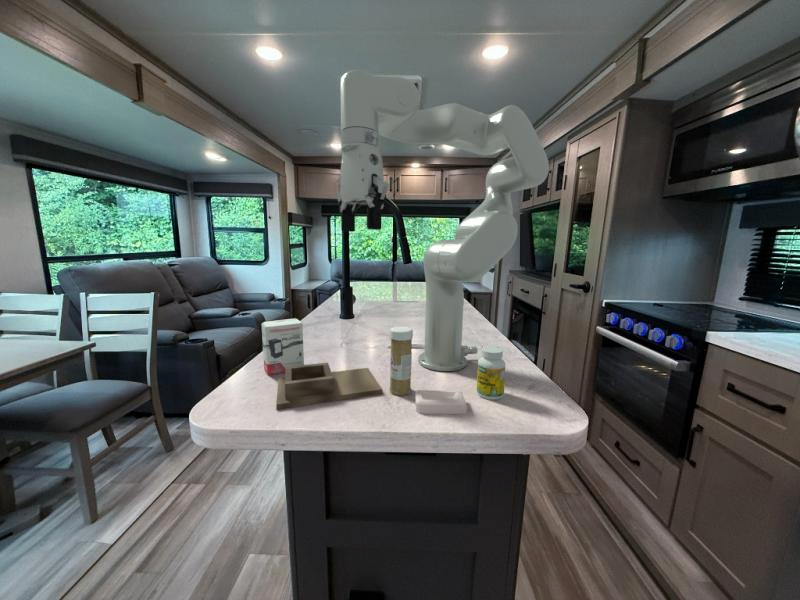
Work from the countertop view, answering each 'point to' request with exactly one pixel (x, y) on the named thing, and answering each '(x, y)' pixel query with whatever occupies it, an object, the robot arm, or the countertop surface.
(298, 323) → the ink box
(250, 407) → the countertop surface
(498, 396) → the supplement bottle
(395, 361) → the sprinkles bottle
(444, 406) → the white soap dish
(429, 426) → the countertop surface
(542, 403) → the countertop surface
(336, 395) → the caddy board
